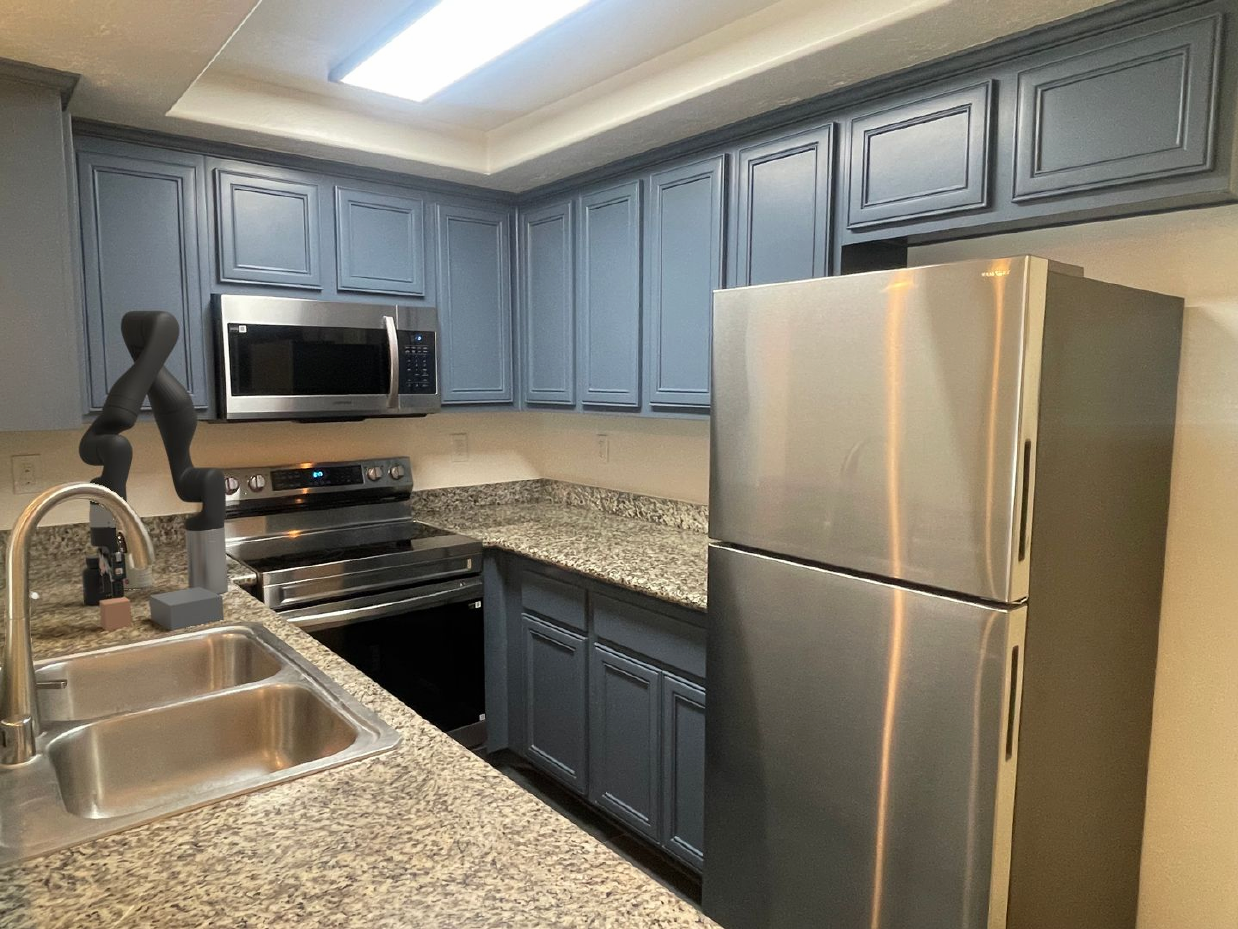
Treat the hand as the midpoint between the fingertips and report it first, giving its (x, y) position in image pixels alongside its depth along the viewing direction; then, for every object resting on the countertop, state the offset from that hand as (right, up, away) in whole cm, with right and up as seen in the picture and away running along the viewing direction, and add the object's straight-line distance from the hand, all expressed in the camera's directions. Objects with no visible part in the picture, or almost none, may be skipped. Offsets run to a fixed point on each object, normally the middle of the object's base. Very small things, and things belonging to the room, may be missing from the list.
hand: (113, 594), depth 180 cm
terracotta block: (0, -7, +1) cm, 8 cm away
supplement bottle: (-18, -6, +23) cm, 29 cm away
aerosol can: (-17, -5, +38) cm, 42 cm away
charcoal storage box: (+14, -7, +6) cm, 16 cm away
